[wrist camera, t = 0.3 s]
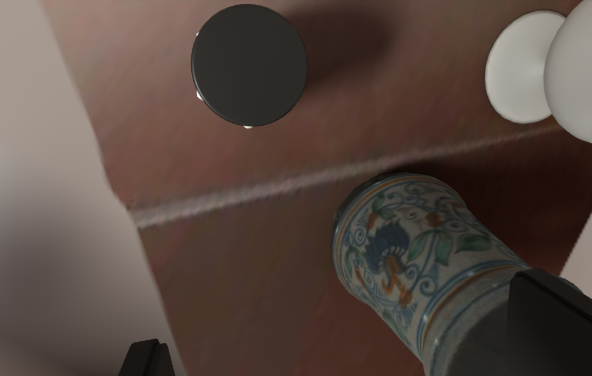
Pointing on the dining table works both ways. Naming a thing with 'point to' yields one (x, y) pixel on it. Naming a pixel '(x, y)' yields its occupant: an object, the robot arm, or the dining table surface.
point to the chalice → (545, 70)
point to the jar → (249, 65)
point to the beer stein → (428, 271)
